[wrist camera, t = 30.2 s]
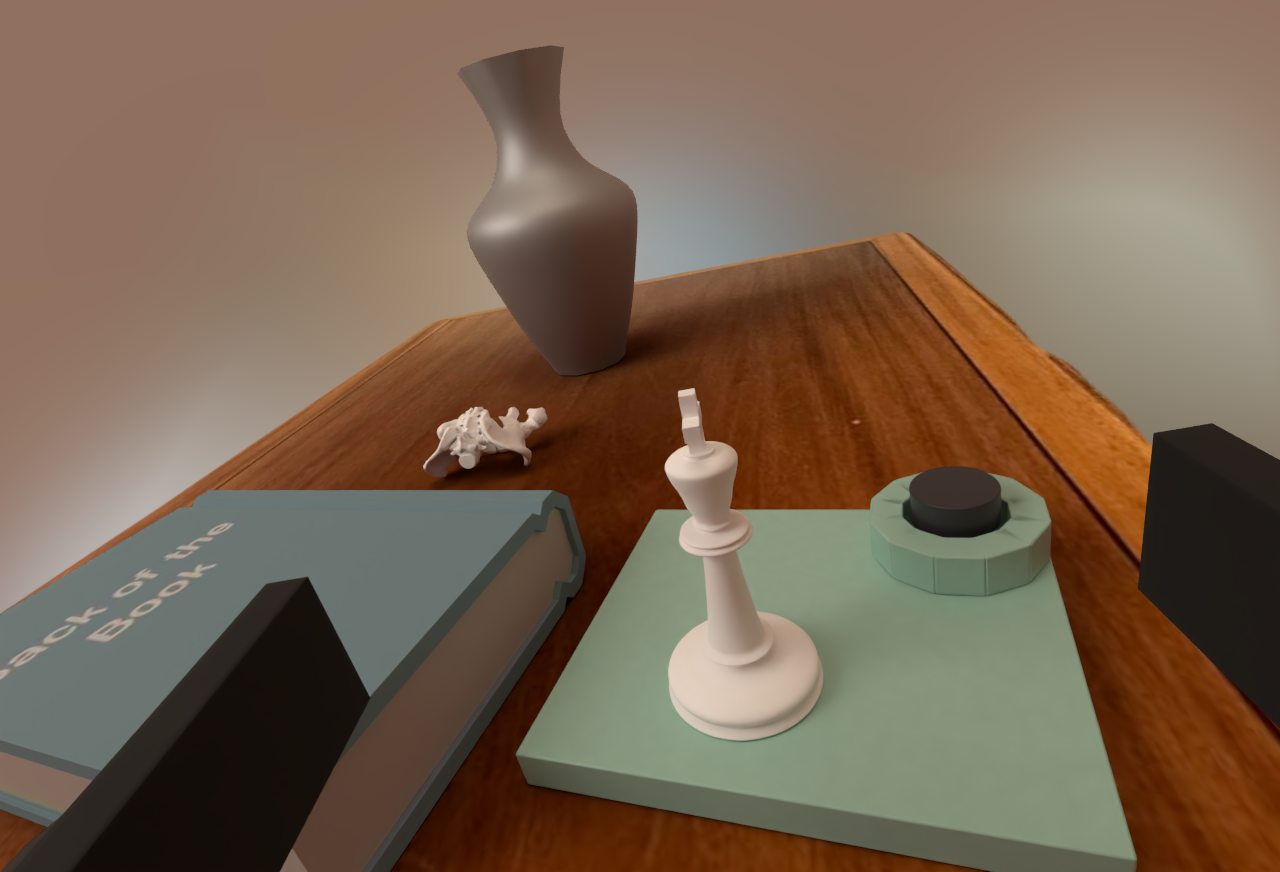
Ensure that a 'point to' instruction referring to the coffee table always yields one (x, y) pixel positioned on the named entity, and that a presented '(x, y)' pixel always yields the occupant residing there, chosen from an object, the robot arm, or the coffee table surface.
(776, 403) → the coffee table surface
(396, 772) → the book
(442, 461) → the pelvis model
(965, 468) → the button
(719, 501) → the chess piece
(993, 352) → the coffee table surface
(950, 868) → the coffee table surface
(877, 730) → the scale
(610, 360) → the vase
